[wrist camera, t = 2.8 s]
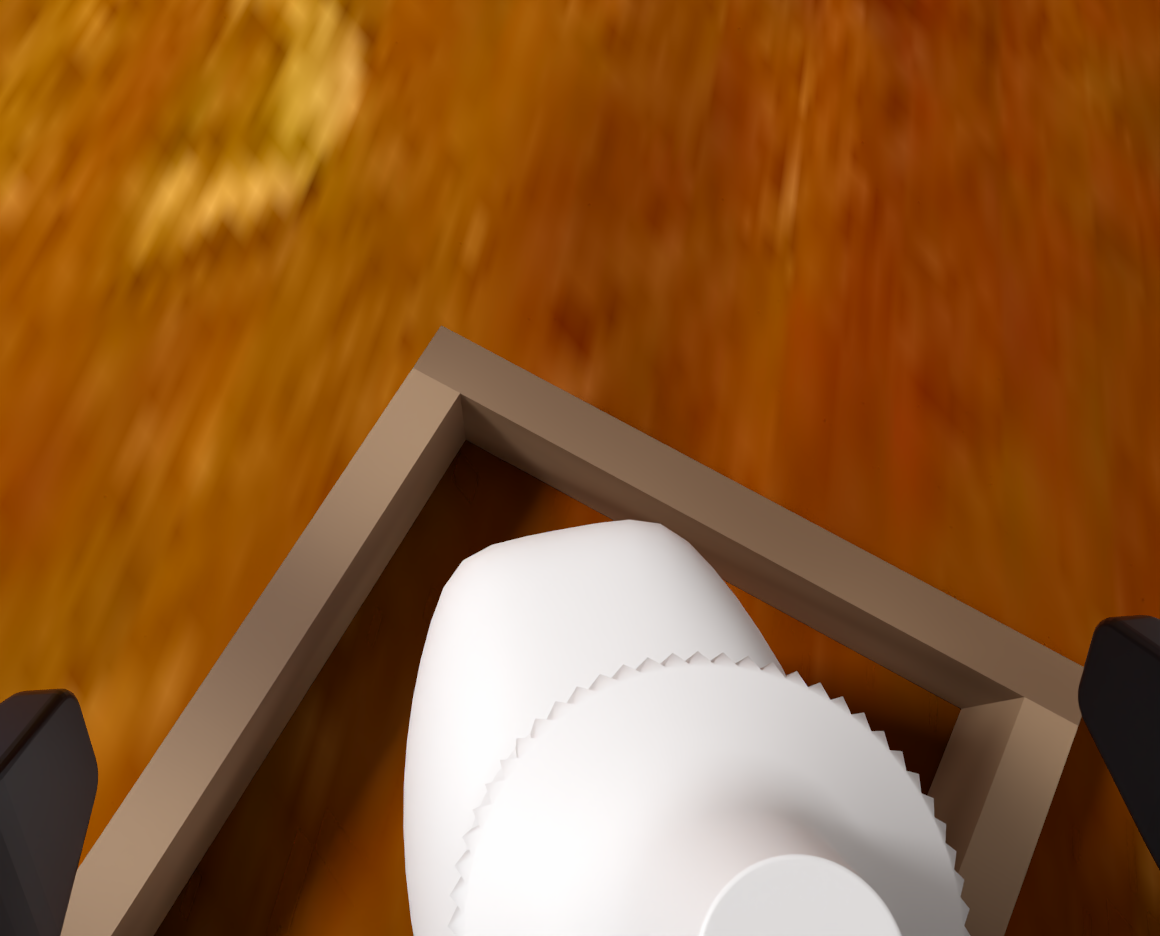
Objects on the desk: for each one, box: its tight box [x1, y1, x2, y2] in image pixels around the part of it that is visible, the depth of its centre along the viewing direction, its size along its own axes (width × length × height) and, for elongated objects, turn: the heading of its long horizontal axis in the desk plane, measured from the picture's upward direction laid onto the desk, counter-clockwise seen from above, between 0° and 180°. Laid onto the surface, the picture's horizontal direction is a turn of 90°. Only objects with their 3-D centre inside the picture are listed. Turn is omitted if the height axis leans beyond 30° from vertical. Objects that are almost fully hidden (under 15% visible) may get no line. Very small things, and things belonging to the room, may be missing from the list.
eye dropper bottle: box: [404, 520, 970, 936], centre depth 9 cm, size 4×6×12 cm
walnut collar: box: [60, 326, 1084, 936], centre depth 14 cm, size 11×11×2 cm
